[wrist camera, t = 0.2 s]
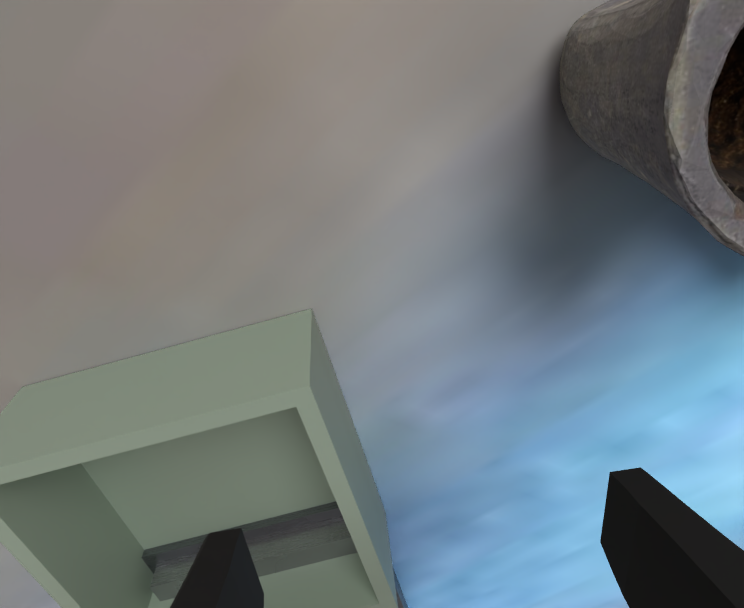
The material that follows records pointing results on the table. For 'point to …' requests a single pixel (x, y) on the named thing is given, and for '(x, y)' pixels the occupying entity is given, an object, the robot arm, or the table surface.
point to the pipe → (665, 100)
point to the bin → (189, 467)
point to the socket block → (264, 548)
